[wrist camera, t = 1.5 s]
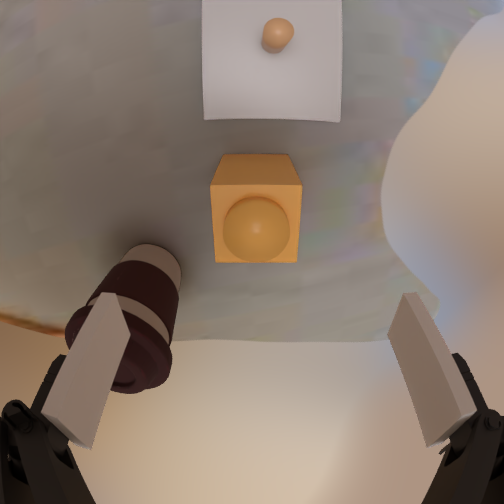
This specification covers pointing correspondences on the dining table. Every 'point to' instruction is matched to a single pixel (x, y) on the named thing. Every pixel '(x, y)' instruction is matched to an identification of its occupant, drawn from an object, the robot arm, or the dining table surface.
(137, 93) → the dining table surface
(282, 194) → the orange toy brick
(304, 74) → the white pegged board
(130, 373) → the coffee cup
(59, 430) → the robot arm
